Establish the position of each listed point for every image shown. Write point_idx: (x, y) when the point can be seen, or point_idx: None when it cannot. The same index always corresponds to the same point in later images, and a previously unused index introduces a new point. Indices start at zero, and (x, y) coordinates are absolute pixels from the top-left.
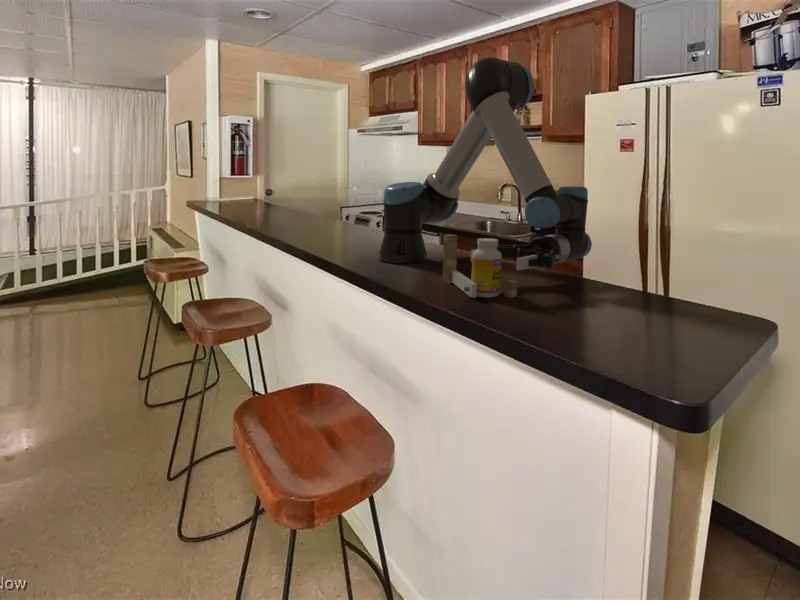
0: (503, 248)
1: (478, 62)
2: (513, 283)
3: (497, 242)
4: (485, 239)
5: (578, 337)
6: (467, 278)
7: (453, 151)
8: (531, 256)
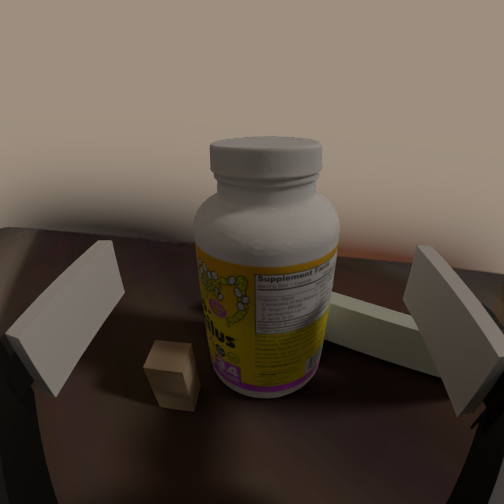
0: (493, 476)
1: None
2: (152, 351)
3: (210, 154)
4: (279, 140)
5: (26, 262)
6: (334, 301)
7: None
8: (41, 295)
